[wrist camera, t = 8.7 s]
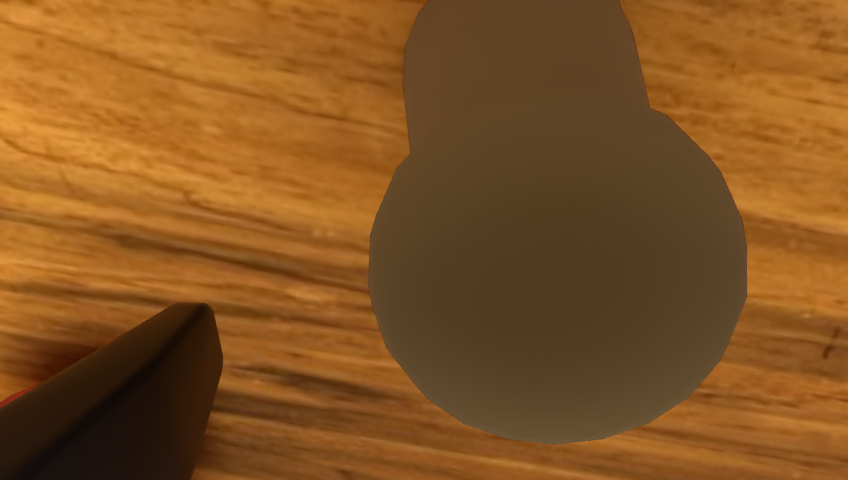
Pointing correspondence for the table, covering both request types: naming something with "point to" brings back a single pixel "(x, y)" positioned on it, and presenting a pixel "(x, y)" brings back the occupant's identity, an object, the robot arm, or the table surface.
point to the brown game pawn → (549, 227)
